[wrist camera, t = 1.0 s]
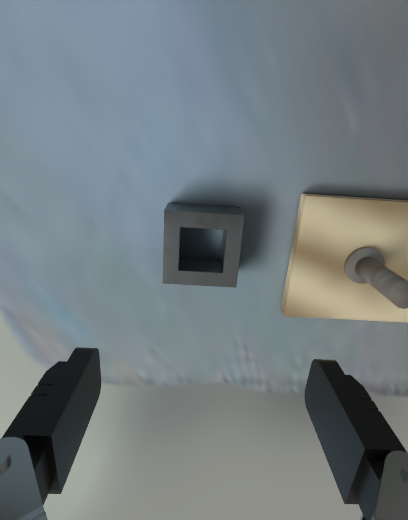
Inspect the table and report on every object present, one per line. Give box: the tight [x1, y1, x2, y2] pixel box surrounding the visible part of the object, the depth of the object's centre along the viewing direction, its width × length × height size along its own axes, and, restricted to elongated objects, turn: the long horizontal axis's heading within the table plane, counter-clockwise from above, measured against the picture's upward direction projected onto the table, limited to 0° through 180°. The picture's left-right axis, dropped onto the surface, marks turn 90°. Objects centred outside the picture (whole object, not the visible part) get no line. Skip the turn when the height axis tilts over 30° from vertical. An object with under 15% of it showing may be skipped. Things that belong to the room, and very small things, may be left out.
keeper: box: [281, 194, 408, 322], centre depth 24 cm, size 11×12×7 cm
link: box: [163, 203, 245, 287], centre depth 25 cm, size 6×6×3 cm
